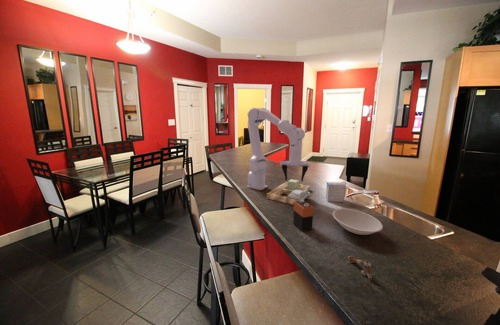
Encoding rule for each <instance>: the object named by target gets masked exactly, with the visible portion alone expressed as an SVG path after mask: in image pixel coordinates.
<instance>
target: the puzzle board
mask: <svg viewBox="0 0 500 325" xmlns="http://www.w3.org/2000/svg"><path fill="white" fill-rule="evenodd" d="M287 188H288V181H285V182H284V183H282V184H280V185H278V186H277V187H275V188H274V189H272V190H270V191H269V192H267V193H266V199H267V200H268V199H269V200H271V201H276V202H281V203H285V204H290V205H293V206H294V202H296V201H299V199H294V198H290V197H288V195H289V194H290V193H292V192H293V190H288V189H287ZM305 189H308V192H310V191H311V190H310V189H311V186H310V185H308V184H307V185H305V184H302V183H299V188H298V189H297V190H301V191H304V190H305ZM284 195H287V196H284ZM311 196H312V195H311V193H310V194H309V195H308V196H307V197H306V198H305V200H311Z"/></svg>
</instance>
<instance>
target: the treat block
mask: <svg viewBox="0 0 500 325" xmlns="http://www.w3.org/2000/svg"><path fill="white" fill-rule="evenodd" d="M287 182H288V188H287V189H288V190H293V191H294V190H297V189H298V188H299V184H300V180H298V179H293V178H290V179H289V180H287Z"/></svg>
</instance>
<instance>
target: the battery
mask: <svg viewBox="0 0 500 325" xmlns="http://www.w3.org/2000/svg"><path fill="white" fill-rule="evenodd" d="M313 221H314V206H313V205H311V204H309V203H308V202H306V201H305V199H304V200H303V199H299V201H296V202H294V205H293V219H292V223H293V224H294V225H295V226H296V227H297V228H298V229H299V230H301V232H307V231H311V230H313Z"/></svg>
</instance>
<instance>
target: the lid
mask: <svg viewBox="0 0 500 325" xmlns="http://www.w3.org/2000/svg"><path fill="white" fill-rule="evenodd" d="M309 194H311V192H310V191H308V189H305V190H304V191H301V190H294V191H293V192H292V193H290V194H289V195H287V197H290V198H294V199H303V200H304V201H305V200H306V197H307V196H308V195H309Z"/></svg>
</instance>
